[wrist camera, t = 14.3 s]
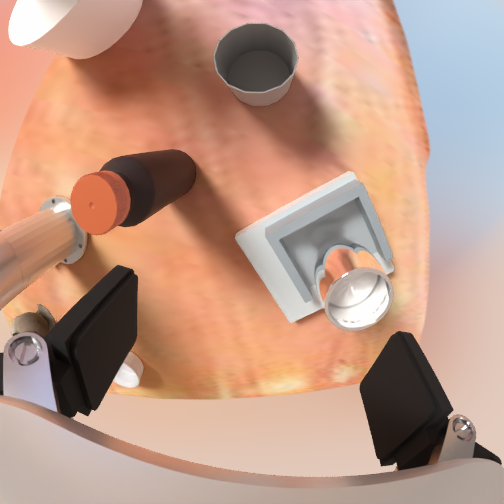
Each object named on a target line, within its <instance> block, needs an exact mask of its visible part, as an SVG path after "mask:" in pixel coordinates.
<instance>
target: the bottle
mask: <svg viewBox="0 0 504 504" xmlns="http://www.w3.org/2000/svg"><path fill="white" fill-rule="evenodd" d="M195 177H196V170H195V165H194V163H193V161H192V159H191V158H190V157H189V156H188V155H187V154H186V153H184V152H182V151H180V150H174V149H172V150H163V151H154V152H147V153H139V154H132V155H126V156H121V157H117V158H113V159H111V160H110V161H109V162H107V163H106V164H104V166H103V167H102V168H101V170H100V171H99V172H95V173H91V174H88V175H85V176H83V177H82V178H80V179H79V181H77V183H76V185H74V187H73V189H72V190H73V191H72V194H71V201H70V202H71V206H70V207H71V210H72V211H71V212H72V214H73V217H74V219H75V221H76V222H77V224H78V225H79V226H80V227H81V228H82V229H83V230H85V231H86V232H88V233H90V234H92V235H93V234H94V235H102V234H105V233H107V232H109V231H110V230H112V229H113V228H115V227H116V226H122V227H130V226H135V225H137V224H139V223H141V222H143V221H144V220H146V219H147V218H149V217H150V216H152V215H153V214H155V213H156V212H158V211H159V210H161V209H162V208H164V207H165V206H167V205H168V204H170V203H171V202H173V201H174V200H176V199H177V198H179V197H181V196H182V195H184V194H185V193H187V192H188V191H189V190H190V189H191V187H192V185H193V184H194V182H195Z"/></svg>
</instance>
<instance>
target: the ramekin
mask: <svg viewBox="0 0 504 504" xmlns="http://www.w3.org/2000/svg"><path fill="white" fill-rule="evenodd" d="M143 370H144V366H143V363H142V361H141V360H140V359H139V358H138V357H137V356H136V355H135V354H134V353H132V352H131V351H130V352H129V354H128V355H127V357H126V359H125V360H124V362H123V364H122V366H121V367H120V369H119V371H118V373H117V374H116V376H115V378H114V380H113V381H114V382H115V383H117V384H119V385H121V386H123V387H127V388H135V387H137V386H138V385H139V383H140V378H141V376H142V373H143Z"/></svg>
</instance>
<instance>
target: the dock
mask: <svg viewBox="0 0 504 504" xmlns="http://www.w3.org/2000/svg"><path fill="white" fill-rule="evenodd" d="M327 221H334V222H338V223H340V224H342V225H343V226H345V227H346V228H347V230H348V231H349V233H350V235H351V239H352V240H354V241H356V242H358V243H359V244H361V245H362V246H364V247H365V248H367V249H368V250H369V251H370V252H371V253H372V254H373V255H374V256H375V258H376V259H377V260H378V262H379V263H380V265H381V266H382V268H383V269H384V271H385V273H386V275H387V274H389V273H391V272H393V271H394V267H393V264H392V261H391V258H393V254H392V252H391V249H390V246H389V244H388V241H387V238H386V236H385V233H384V231H383V228H382V226H381V223H380V221H379V218H378V216H377V214H376V211H375V209H374V207H373V204H372V202H371V200H370V197H369V195H368V193H367V191H366V189H365V186H364V184H363V183H361V182H359V181H358V180H357V178H356V176H355V174H354V173H353V172H350V171H347V172H346V173H344V174H342V175H340V176H338V177H336V178H334V179H332V180H331V181H329V182H327V183H325V184H323V185H321V186H319V187H318V188H316V189H314V190H312V191H310V192H308V193H307V194H305V195H303V196H301V197H299V198H297V199H296V200H294V201H292V202H290V203H288V204H286V205H285V206H283V207H281V208H279V209H277V210H276V211H274V212H272V213H270V214H268V215H267V216H265V217H263V218H261V219H259V220H258V221H256V222H254V223H252V224H251V225H249V226H247V227H245V228H244V229H242V230H240V231H238V232H237V233H236V236H235V240H236V241H237V243H238V244H239V246H240V247H241V249H242V250H243V252H244V253H245V255H246V257H247V258H248V260H249V261H250V263H251V264H252V266H253V267H254V269H255V270H256V272H257V273H258V275H259V276H260V278H261V279H262V281H263V282H264V284H265V285H266V287H267V289H268V290H269V292H270V293H271V295H272V296H273V298H274V299H275V301H276V302H277V304H278V305H279V307H280V308H281V310H282V311H283V313H284V314H285V316H286V317H287V319H288V320H289V322H290V323H292V322H294V321H296V320H299V319H301V318H303V317H305V316H307V315H309V314H312V313H314V312H316V311H318V310H320V309H322V308H323V306H322V303H321V301H320V299H319V296H318V293H317V290H316V285H315V280H314V263H315V260H314V259H313V258H312V256H311V255H310V253H309V250H308V238H309V235H310V233H311V231H312V230H313V229H314V228H315V227H316V226H317V225H319V224H321V223H323V222H327Z"/></svg>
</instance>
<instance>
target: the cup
mask: <svg viewBox="0 0 504 504" xmlns="http://www.w3.org/2000/svg"><path fill="white" fill-rule="evenodd" d="M213 58H214V63H215V68H216V72H217V74H218V75H219V76H220V77H221V79H222V80H223V81H224V83H225V84H226V85H227V86H228V88H229V89H230V90H231V91H232V93H233V94H234V95H235V96H236V97H237V99H238V100H240V101H242V102H244V103H246V104H248V105H250V106H268V105H270V104H273V103H275V102H278V101H279V100H280V99H281V98H282V97H283V96H284V95H285V94H286V93H287V92H288V90H289V87H290V84H291V82H292V79H293V76H294V73H295V69H296V66H297V63H298V59H299V57H298V53H297V49H296V46H295V42H294V41H293V40H292V39H291V38H290V37H289V36H288V35H287V34H286V33H285V32H284V31H283V30H282V29H279V28H277V27H275V26H272V25H270V24H267V23H246V24H243V25H241V26H238V27H235V28H233V29H230V30H229V31H228V32H227V33H226V34H225V35H224V36H223V37H222V38H221V39H220V40H219V41H218V44H217V47H216V50H215V53H214V56H213Z"/></svg>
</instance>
